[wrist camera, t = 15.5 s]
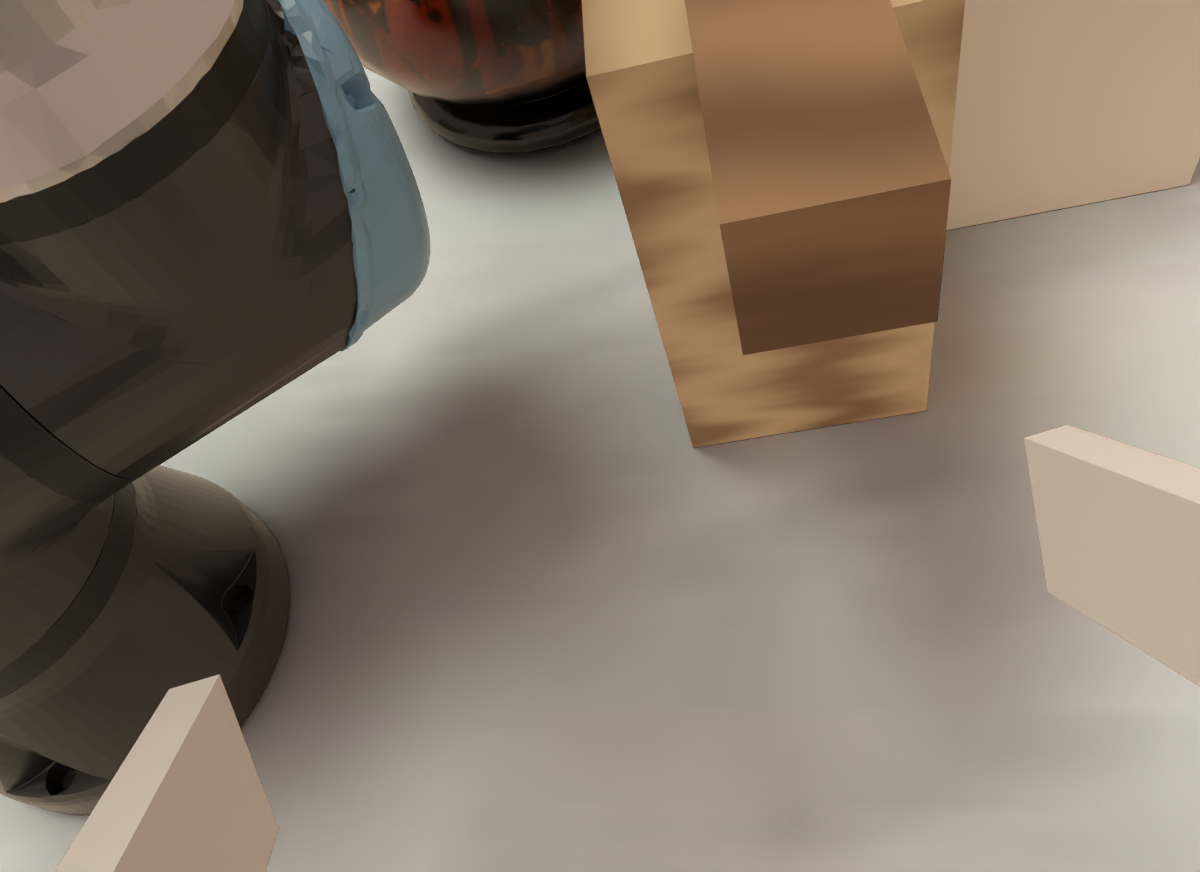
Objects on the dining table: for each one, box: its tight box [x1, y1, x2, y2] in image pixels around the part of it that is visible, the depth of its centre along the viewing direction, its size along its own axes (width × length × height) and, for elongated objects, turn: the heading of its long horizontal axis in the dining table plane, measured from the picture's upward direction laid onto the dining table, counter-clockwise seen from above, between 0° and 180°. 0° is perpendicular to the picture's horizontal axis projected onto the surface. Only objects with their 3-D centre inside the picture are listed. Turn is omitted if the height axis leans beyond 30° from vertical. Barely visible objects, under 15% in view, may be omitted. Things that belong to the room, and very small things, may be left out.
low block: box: [582, 0, 965, 448], centre depth 37 cm, size 10×11×20 cm
